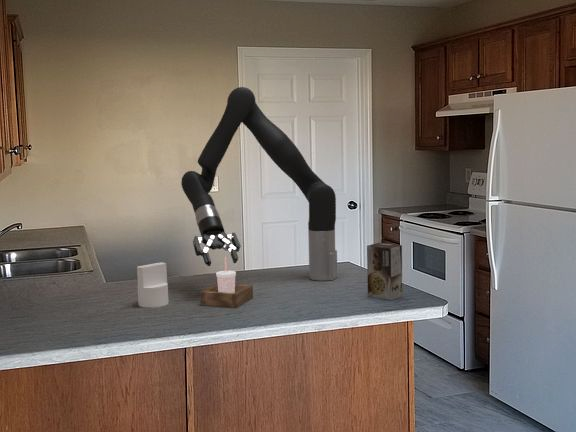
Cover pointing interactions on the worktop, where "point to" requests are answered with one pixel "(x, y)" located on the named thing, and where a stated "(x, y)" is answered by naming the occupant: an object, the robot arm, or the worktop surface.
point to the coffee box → (384, 271)
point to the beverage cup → (226, 280)
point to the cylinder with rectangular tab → (152, 285)
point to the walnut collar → (226, 296)
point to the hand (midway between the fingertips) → (222, 263)
